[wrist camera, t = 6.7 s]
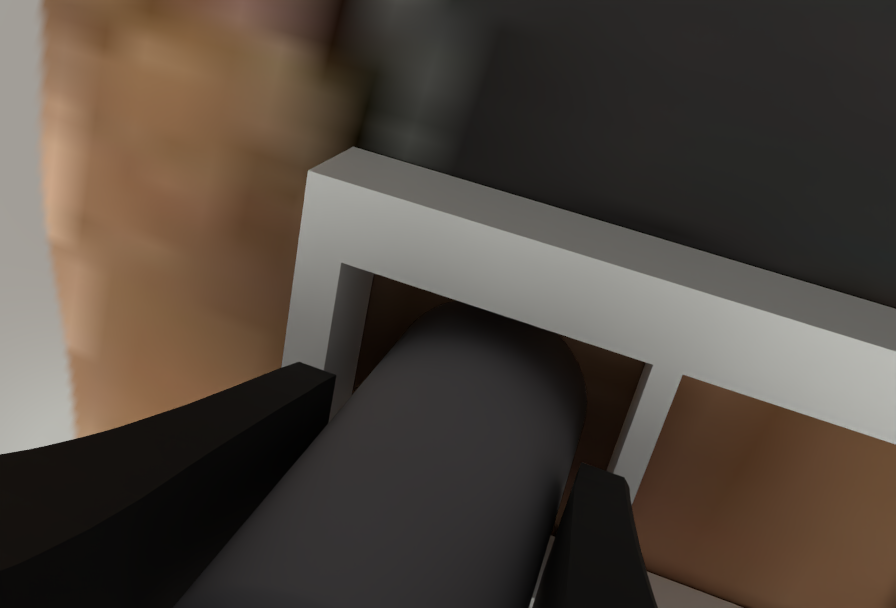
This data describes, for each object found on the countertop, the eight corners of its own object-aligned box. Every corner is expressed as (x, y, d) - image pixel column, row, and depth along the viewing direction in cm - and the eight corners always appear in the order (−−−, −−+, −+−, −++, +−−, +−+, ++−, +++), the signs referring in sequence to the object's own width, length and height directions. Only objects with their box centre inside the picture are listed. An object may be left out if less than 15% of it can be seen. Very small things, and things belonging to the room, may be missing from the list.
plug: (558, 502, 14) (434, 911, 8) (378, 439, 15) (140, 774, 9) (612, 335, 13) (512, 677, 7) (410, 272, 14) (152, 533, 7)
